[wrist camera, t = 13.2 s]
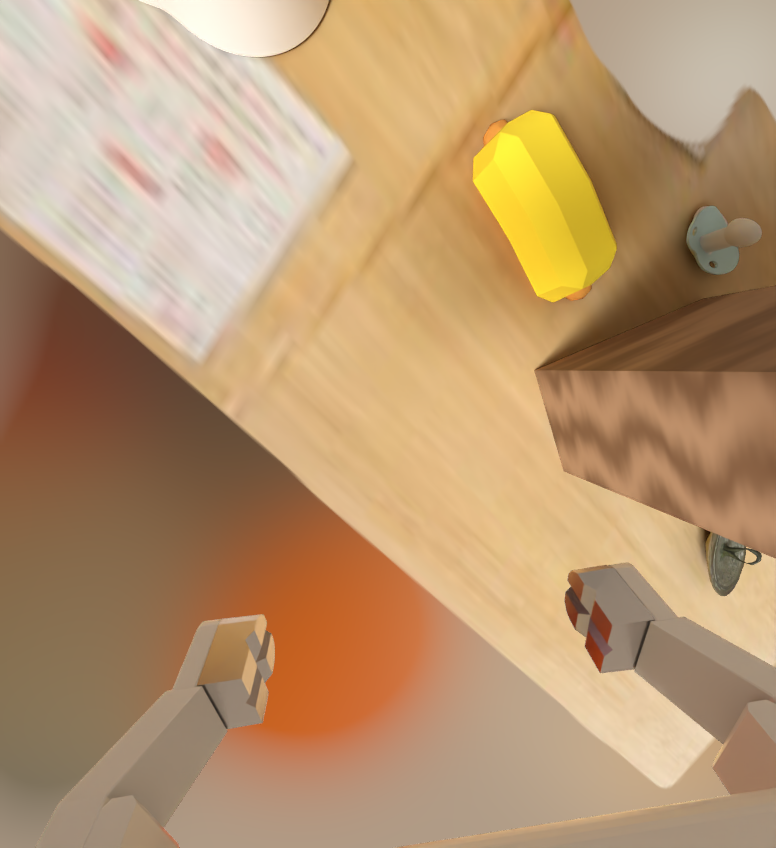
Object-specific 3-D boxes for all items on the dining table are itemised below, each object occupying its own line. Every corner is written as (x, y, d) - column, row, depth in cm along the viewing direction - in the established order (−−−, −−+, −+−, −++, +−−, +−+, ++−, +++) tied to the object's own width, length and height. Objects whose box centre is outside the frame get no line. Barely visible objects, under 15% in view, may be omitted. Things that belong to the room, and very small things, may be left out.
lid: (672, 520, 46) (714, 538, 41) (737, 492, 47) (786, 507, 42) (683, 593, 48) (725, 618, 43) (745, 564, 49) (793, 586, 44)
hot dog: (513, 114, 35) (449, 159, 35) (558, 56, 29) (480, 111, 28) (598, 280, 39) (542, 323, 39) (654, 263, 33) (587, 314, 32)
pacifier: (703, 195, 40) (667, 232, 40) (774, 163, 34) (732, 206, 34) (734, 250, 42) (699, 286, 42) (806, 229, 36) (766, 270, 35)
